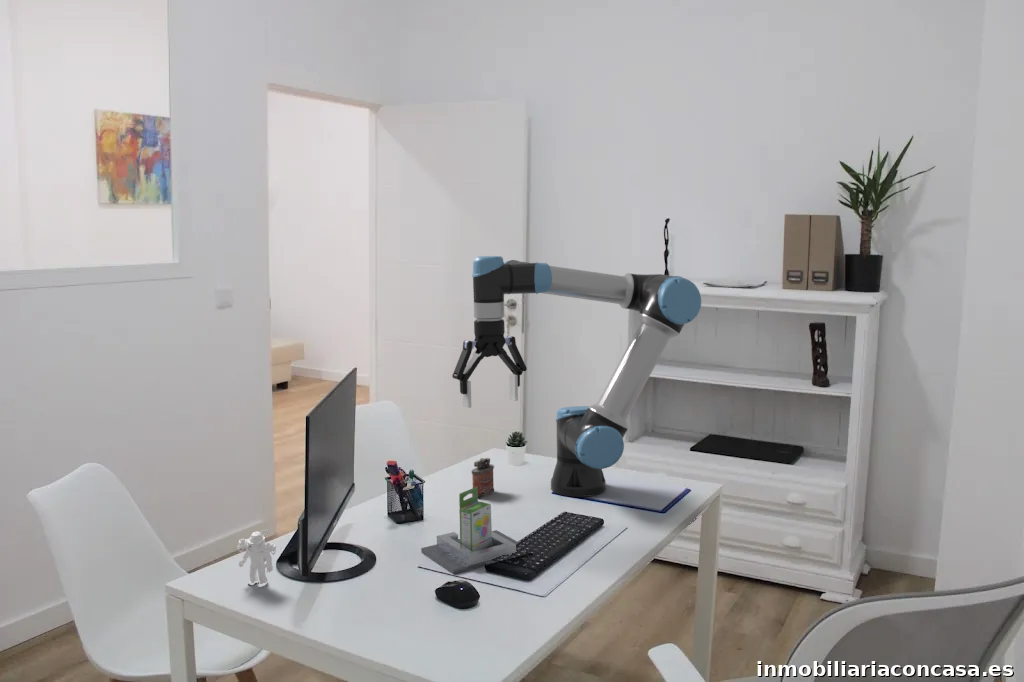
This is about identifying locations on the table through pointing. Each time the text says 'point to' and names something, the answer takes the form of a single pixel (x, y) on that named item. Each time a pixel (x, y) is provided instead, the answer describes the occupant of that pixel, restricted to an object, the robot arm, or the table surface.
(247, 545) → the flower shoulder figurine
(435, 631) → the table surface
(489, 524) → the ink box
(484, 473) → the lighter
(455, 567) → the chassis plate
